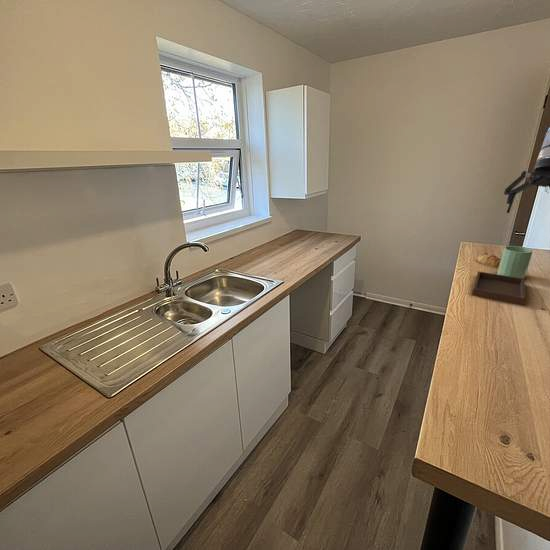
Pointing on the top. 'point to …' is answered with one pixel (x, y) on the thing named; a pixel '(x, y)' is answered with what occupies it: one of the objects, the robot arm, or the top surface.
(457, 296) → the top surface
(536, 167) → the robot arm
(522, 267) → the cup
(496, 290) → the tray
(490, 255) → the pastry
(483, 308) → the top surface
